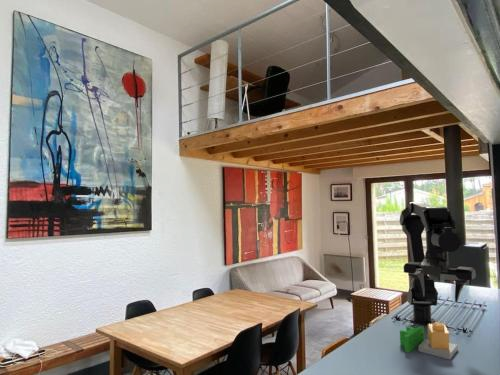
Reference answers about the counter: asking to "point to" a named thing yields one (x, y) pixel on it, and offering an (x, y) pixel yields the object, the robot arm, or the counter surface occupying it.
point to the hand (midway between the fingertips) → (439, 298)
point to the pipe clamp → (411, 337)
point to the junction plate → (438, 350)
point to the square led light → (438, 335)
